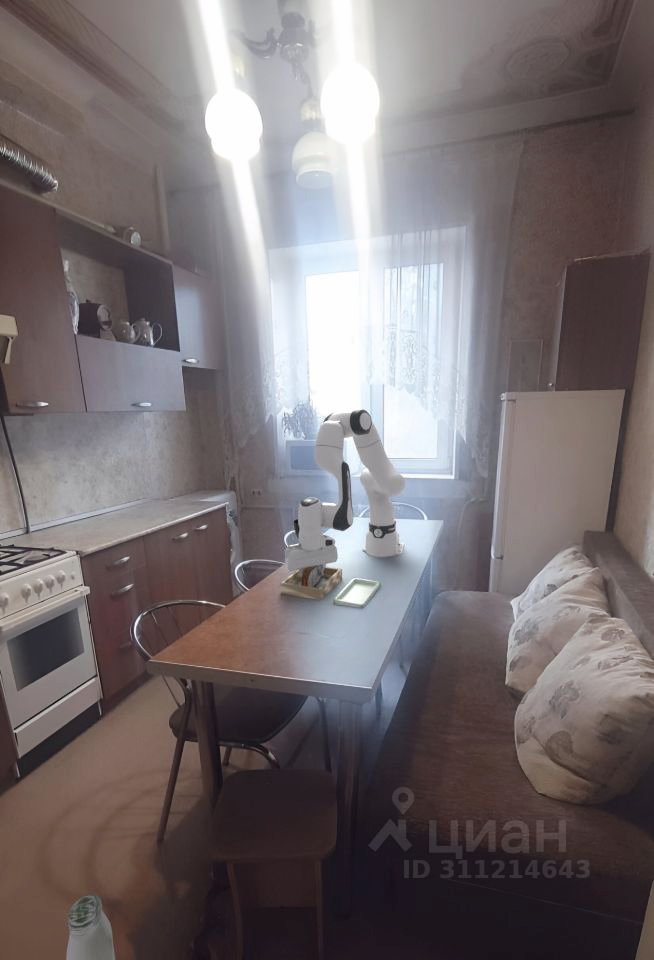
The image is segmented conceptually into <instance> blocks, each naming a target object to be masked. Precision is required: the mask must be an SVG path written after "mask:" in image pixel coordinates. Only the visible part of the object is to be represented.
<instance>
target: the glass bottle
mask: <svg viewBox="0 0 654 960" xmlns="http://www.w3.org/2000/svg"><path fill="white" fill-rule="evenodd" d="M67 914H68V919H67V924H68V929H69V936H68V942H67V949H66V955H65V956H66V957H65V960H116V956H115V950H114V949H115V948H114V939H113V930H112V926H111V925H112V924H111V922H110V921H109V919H108V917H107V915H106V914H105V912H104V911H103V904H102V899H101V897H99V896H98V895H97V894H91V893H90V894H89V893H88V894H86V895H83V896H82V897H81V898H79V899H77V901H75V903H73V905H72V906H71V908H70V909H69V911H68V912H67Z"/></svg>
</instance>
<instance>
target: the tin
mask: <svg viewBox="0 0 654 960" xmlns="http://www.w3.org/2000/svg"><path fill="white" fill-rule="evenodd" d="M320 568H321V565H318V566H313V567H308V568H305V570H304V572H303V574H302V578H301V580H300V585H302V586H308V587H314V588H315V587H316V585H317V584H318V583H319V582H320V581H321V578H322V577H321V576H319V575H318V570H320Z"/></svg>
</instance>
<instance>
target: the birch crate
mask: <svg viewBox="0 0 654 960" xmlns="http://www.w3.org/2000/svg"><path fill="white" fill-rule="evenodd" d="M304 570H305V568H303V571H302V572H304ZM321 578H328V579H327V580H326V581H325V582H324V583H323V584H321V585H320V586H319V587H315V586H314V587H308V586H302V585H301V584H297V583H299V582H300V581H301V573H300V572H299V571H298V570H294V572H293V573H292V574H290V575H289V576H287V578H285V579H284V580H282V581H281V582H280V584H279V585H280V594H281V595H282V594H283V595H288V596H293V597H299V598H305V599H313V600H319V601H321V600H322V599H324V597H325V596H326V595H328V594H329V593H330V592H331V590H333V589H334V588H335V587H336V586H337V585H338V584H339V583H340V582H341V580H342V579H343V569H342V568H339V567H338V568H336V567H331V566H326V567H325V569H324V571H323V575H321Z"/></svg>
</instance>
